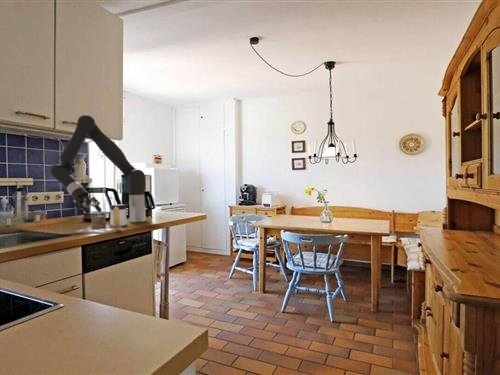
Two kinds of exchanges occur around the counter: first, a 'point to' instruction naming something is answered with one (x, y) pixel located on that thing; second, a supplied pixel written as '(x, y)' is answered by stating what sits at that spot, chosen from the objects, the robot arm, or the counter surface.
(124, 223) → the jar
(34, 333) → the counter surface
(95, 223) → the walnut block
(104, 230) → the drilled plate
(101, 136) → the robot arm
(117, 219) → the brass post
